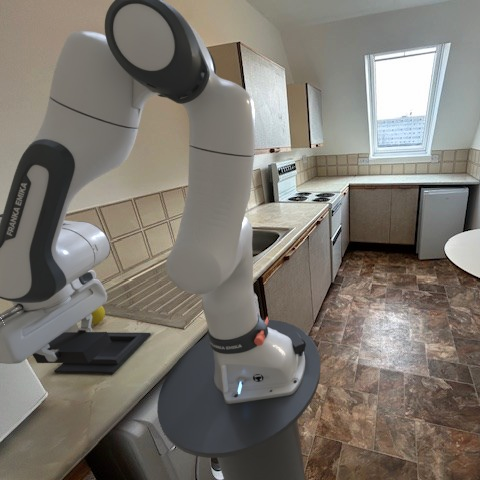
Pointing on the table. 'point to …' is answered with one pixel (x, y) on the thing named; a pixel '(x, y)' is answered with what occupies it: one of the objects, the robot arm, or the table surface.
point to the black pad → (77, 347)
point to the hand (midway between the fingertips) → (72, 345)
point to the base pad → (108, 355)
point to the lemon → (98, 315)
